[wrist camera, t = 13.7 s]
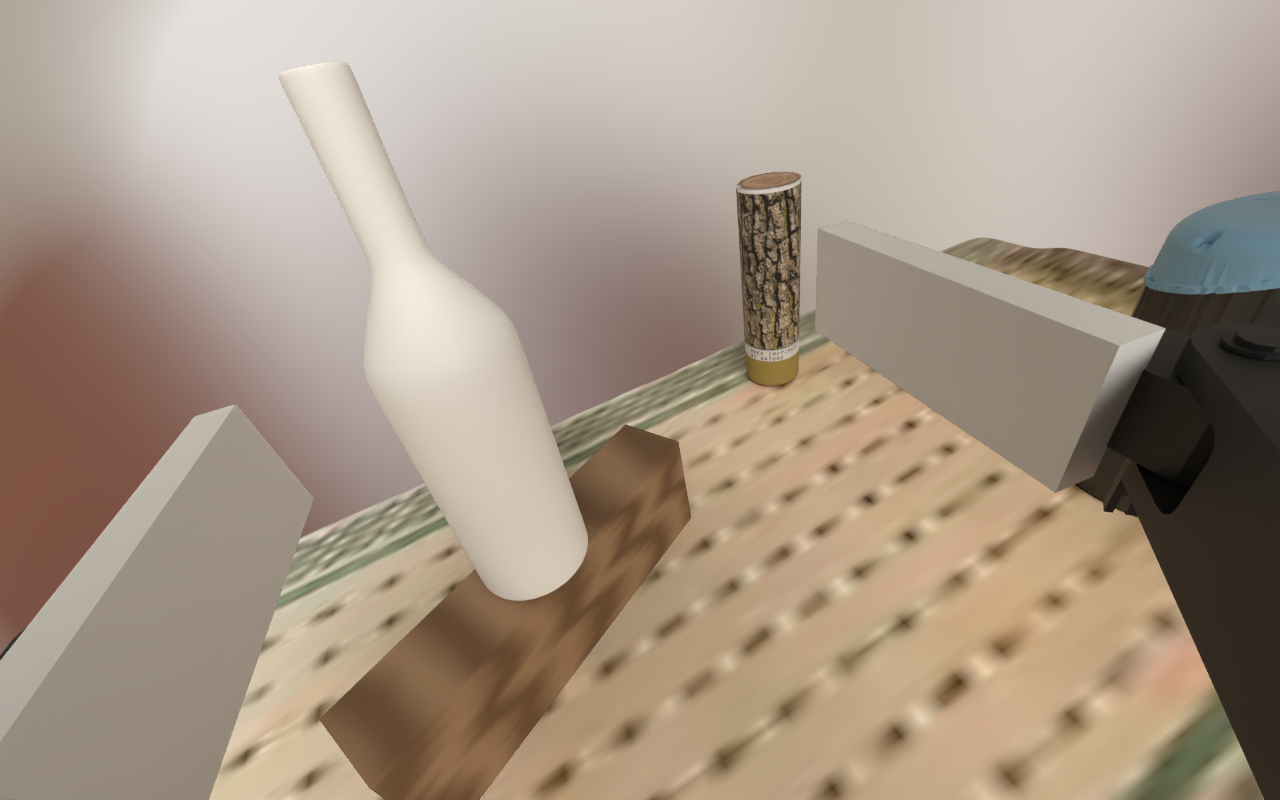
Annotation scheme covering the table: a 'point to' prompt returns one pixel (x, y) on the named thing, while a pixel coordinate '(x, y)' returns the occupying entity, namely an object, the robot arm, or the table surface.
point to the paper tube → (770, 274)
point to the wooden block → (510, 640)
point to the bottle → (445, 363)
